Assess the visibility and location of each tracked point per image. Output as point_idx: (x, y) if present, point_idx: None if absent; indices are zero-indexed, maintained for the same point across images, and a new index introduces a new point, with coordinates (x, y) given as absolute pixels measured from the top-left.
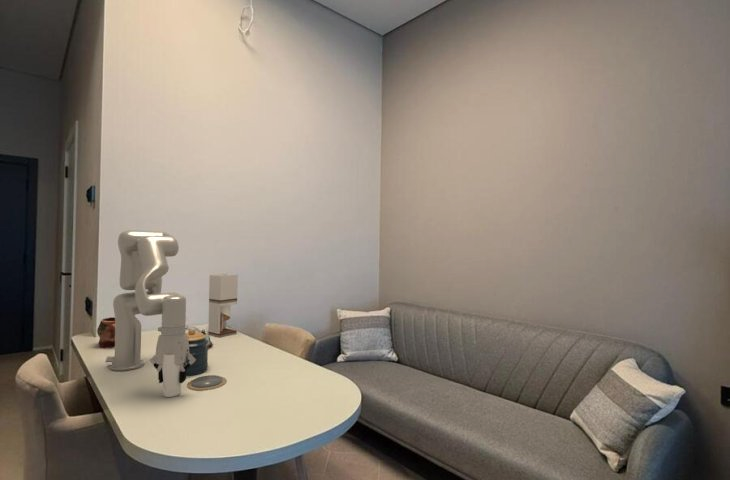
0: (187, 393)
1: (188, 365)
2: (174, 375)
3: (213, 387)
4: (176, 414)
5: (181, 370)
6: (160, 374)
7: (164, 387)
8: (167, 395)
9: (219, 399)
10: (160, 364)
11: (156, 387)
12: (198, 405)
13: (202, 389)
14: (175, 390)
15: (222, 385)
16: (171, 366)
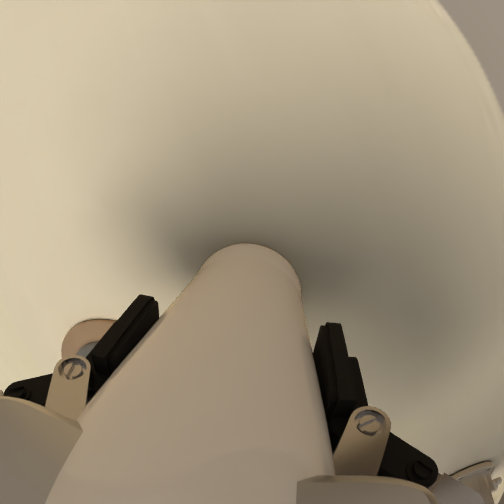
0: (163, 294)
1: (11, 388)
2: (158, 329)
3: (73, 332)
4: (119, 5)
5: (88, 372)
6: (340, 378)
7: (284, 282)
8: (258, 245)
9: (7, 196)
10: (351, 478)
11: (370, 388)
12: (51, 120)
13: (106, 322)
14: (202, 269)
15: (63, 351)
16: (130, 410)
